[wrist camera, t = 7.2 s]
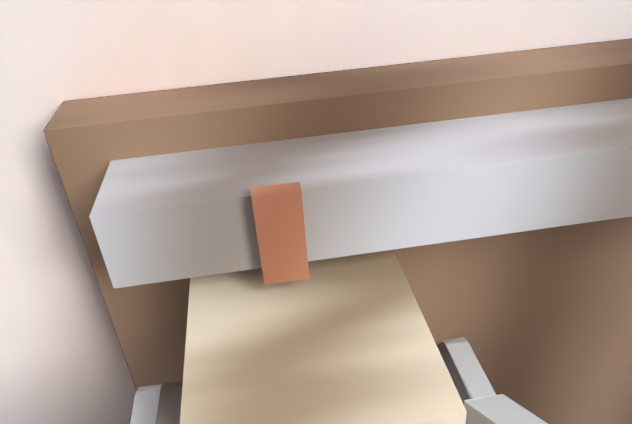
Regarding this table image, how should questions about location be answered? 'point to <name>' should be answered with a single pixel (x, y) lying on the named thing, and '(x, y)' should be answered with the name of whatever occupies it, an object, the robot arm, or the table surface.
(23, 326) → the table surface
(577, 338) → the walnut board
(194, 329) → the wooden mallet
